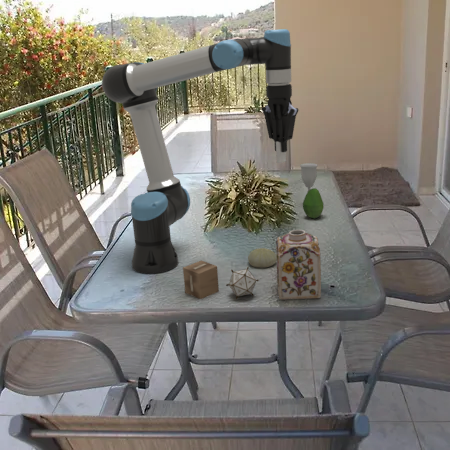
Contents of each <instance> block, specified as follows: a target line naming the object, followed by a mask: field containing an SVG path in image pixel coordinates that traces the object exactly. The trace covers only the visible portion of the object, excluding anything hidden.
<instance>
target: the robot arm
mask: <svg viewBox="0 0 450 450" xmlns="http://www.w3.org/2000/svg"><path fill="white" fill-rule="evenodd" d="M263 33H264V35H263V36H262V37H253V38H251V37H249V38H248V37H247V38H231V39H224V40H221V41H220V42H217V43H214V44H209V45H207V46H202V47H199V48H197V49H196V48H195V49H192V50H189V51H185V52H181V53H178V54H174V55H169V56H167V57H163V58H160V59H157V60H153V61H148V62H139V61H134V62H129V63H123V64H116V65H113V66H111V67H109V68H108V69H107V70H106V71H105V72H104V73H103V76H102V80H101V87H102V91H103V93H104V94H105V96H106V97H107V98H108V99H109V100H110V101H113V102H114V103H119V104H122V105H121V106H122V107H123V108H122V109H123V110H124V111H126V112H127V113H129V115H130V119H131V122H132V126H133V129H134V132H135V136H136V140H137V143H138V148H139V151H140V154H141V157H142V161H143V165H144V168H145V169H144V170H145V171H146V172H145V173H146V175H147V179H148V185H147V186H146V192H144V193H141V194H139V195H137V196H135V197H134V198H133V199H132V200H131V203H130V208H131V209H130V215H131V220H132V229H133V236H134V245H135V246H134V249H133V255H132V258H131V259H132V260H131V267H132V270H133V271H135V272H137V273H140V274H150V275H151V274H159V273H164V272H168V271H171V270H173V269H174V268H176V267H177V266H178V264H179V257H178V254H177V251H176V249H175V247H174V245H173V242H172V238H171V237H172V236H171V228H170V227H171V226H172V225H173V224H175V223H176V222H177V221H179V220H181V219H182V218H183V217H184V216H185V215H186V214H187V213H188V211H189V210H190V206H191V197H190V194H189V192H188V190H187V189H186V188H185V187H183V185H182V183H181V181H180V179H179V178H178V177H175V175H174V172H173V168H172V164H171V160H170V156H169V153H168V150H167V146H166V143H165V142H166V141H165V138H164V135H163V131H162V128H161V123H160V120H159V116H158V113H157V109H156V105H157V103H158V101H159V99H158V95H157V90H158V88H162V87H164V86H169V85H172V84H175V83H180V82H183V81H188V80H191V79H195V78H199V77H202V76H208V75H210V74H215V73H218V72H223V71H226V70H231V69H235V68H239V67H243V66H248V65H249V66H251V65H265V83H266V84H267V85H266V87H265V88H266V89H265V90H266V98H268V100H267V104H266V106H262V107H261V112H262V114H263V116H264V119H265V125H266V129H267V134H268V138H269V139H272V140H273V141H274V151H275V155H276V157H275V158H276V159H275V160H276V163H277V164H282V163H286V162H287V154H286V152H287V151H288V141H289V140H292V139H293V137H294V131H295V125H296V119H297V114H298V113H299V108H297V107H294V106H293V105H292V104H293V103H292V99H291V98H292V96H293V90H292V89H293V88H292V87H293V86H292V84H291V83H292V44H291V32H290V30H288V29H286V28H283V29H282V28H281V29H267V30H265V31H264V32H263Z"/></svg>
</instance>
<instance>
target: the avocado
mask: <svg viewBox="0 0 450 450" xmlns="http://www.w3.org/2000/svg"><path fill="white" fill-rule="evenodd" d="M307 191H308V190H307ZM307 191H306V192H307ZM302 209H303V212H304V214H305V215H306V216H307V217H308V218H310V219H317V218H319V217H320V216H321V215H322V214H323V210H324V201H323V198H322V196H321V192H320V191H319V189H317V188H316V187H312V188H310V190H309V191H308V192H307V193H306V195H305V196H304V199H303V202H302Z"/></svg>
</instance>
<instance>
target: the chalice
mask: <svg viewBox="0 0 450 450" xmlns="http://www.w3.org/2000/svg"><path fill="white" fill-rule="evenodd" d="M299 166H300V167H299V168H300V173H301V174H300V175H301V176H300V177H301V179H302V182H303V184H304V186H305V187H306V188H307V191H306V192H308V191H309V190H310V189H312V188H313V186H314V184H315V183H316V180H317V175H318V174H317V167H318V164H316V163H302V164H300V165H299Z"/></svg>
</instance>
